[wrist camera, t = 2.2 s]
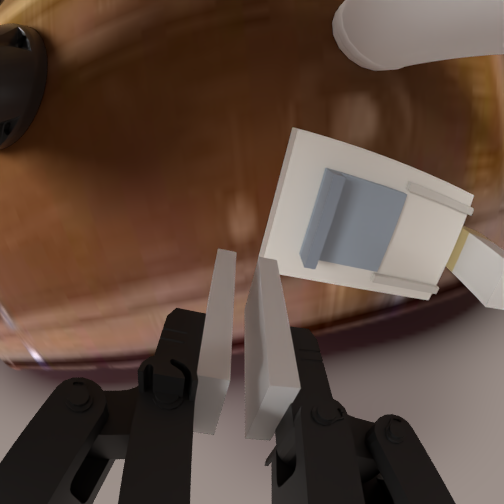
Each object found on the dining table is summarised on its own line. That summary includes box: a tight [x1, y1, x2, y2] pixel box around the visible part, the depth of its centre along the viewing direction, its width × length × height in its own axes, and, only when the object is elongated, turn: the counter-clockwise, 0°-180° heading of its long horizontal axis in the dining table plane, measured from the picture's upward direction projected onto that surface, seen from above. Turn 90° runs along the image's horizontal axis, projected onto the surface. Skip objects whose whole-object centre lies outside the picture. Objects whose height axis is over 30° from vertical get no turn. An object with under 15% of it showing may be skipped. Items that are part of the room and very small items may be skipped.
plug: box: [446, 226, 504, 310], centre depth 26 cm, size 5×5×10 cm
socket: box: [259, 127, 474, 300], centre depth 27 cm, size 20×13×4 cm, turn 77°
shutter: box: [299, 168, 407, 272], centre depth 25 cm, size 8×8×3 cm
